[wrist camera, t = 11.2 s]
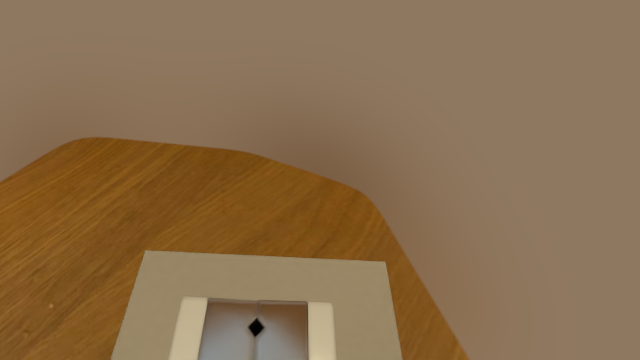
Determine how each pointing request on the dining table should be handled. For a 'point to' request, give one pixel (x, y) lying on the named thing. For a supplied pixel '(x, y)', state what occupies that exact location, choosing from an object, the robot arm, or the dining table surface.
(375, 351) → the box lid
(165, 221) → the dining table surface
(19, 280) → the dining table surface
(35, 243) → the dining table surface
